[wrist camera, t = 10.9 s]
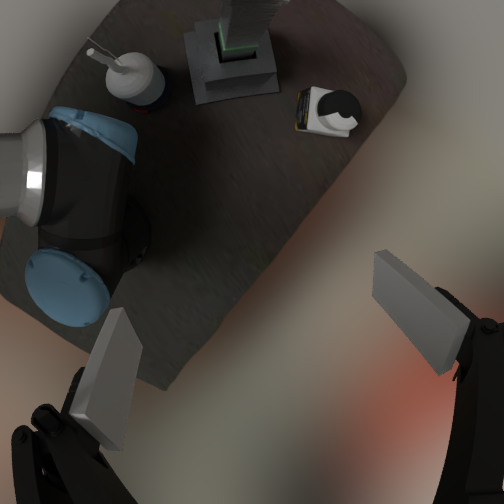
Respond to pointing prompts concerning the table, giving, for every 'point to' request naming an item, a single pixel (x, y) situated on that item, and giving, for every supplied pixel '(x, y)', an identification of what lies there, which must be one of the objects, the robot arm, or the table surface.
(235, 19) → the column
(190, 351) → the table surface
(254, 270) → the table surface
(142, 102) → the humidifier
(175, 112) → the table surface
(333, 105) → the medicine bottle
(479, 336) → the robot arm
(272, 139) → the table surface
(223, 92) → the stand housing
